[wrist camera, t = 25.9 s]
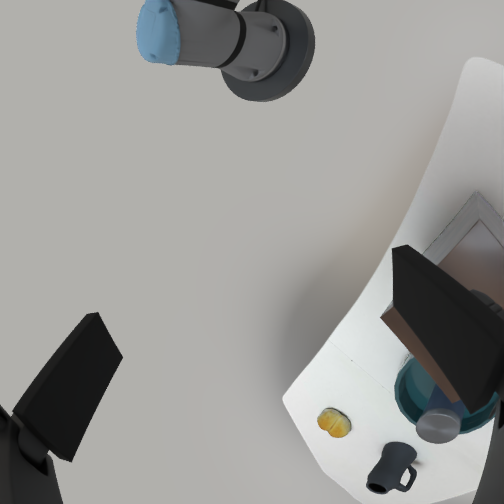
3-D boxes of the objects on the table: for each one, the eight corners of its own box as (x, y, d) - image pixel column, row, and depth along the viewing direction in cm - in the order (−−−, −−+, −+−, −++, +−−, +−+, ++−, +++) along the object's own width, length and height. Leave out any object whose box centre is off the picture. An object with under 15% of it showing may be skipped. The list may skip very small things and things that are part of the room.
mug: (377, 451, 48) (353, 484, 41) (394, 436, 44) (369, 474, 37) (412, 470, 41) (391, 505, 34) (432, 457, 37) (411, 496, 29)
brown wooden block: (476, 189, 25) (479, 218, 13) (530, 257, 20) (556, 335, 9) (423, 253, 33) (379, 317, 21) (473, 312, 29) (452, 403, 17)
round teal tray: (469, 304, 29) (467, 319, 26) (524, 388, 21) (523, 405, 19) (382, 367, 43) (373, 380, 40) (437, 431, 36) (431, 446, 33)
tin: (460, 360, 31) (445, 407, 24) (479, 387, 28) (467, 435, 21) (428, 379, 36) (407, 423, 29) (447, 403, 33) (429, 448, 26)
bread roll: (343, 435, 56) (334, 445, 53) (318, 415, 60) (309, 425, 58) (358, 424, 51) (349, 436, 48) (331, 403, 55) (321, 413, 53)
